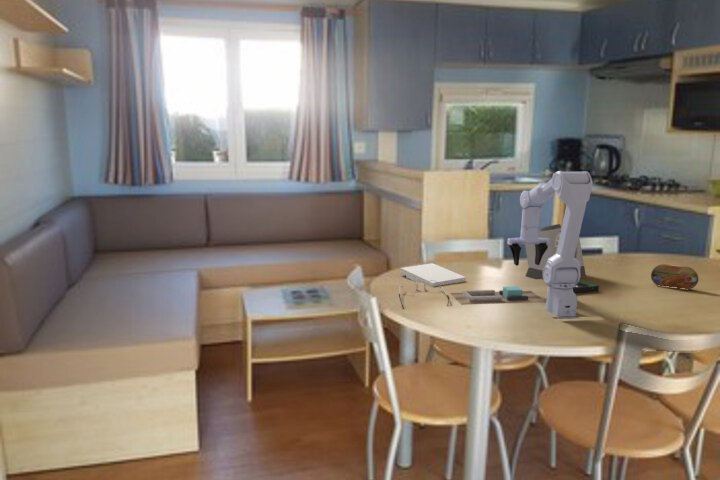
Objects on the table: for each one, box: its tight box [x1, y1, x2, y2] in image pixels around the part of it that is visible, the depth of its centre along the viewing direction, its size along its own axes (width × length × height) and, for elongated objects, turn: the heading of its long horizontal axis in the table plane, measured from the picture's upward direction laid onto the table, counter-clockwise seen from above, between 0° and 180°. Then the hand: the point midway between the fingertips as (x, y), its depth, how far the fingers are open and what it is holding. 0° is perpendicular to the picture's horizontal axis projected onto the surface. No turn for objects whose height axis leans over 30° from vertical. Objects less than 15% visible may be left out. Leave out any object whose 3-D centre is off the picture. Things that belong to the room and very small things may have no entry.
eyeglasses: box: [398, 279, 450, 310], centre depth 185 cm, size 16×19×5 cm
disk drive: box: [573, 278, 600, 295], centre depth 202 cm, size 10×3×15 cm
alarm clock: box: [524, 223, 587, 281], centre depth 218 cm, size 20×16×20 cm
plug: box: [502, 285, 523, 298], centre depth 188 cm, size 4×5×3 cm
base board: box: [450, 290, 547, 306], centre depth 187 cm, size 12×29×1 cm, turn 99°
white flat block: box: [399, 263, 467, 287], centre depth 210 cm, size 15×3×20 cm
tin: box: [650, 263, 699, 290], centre depth 206 cm, size 15×3×8 cm, turn 62°
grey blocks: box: [498, 289, 528, 301], centre depth 188 cm, size 7×7×1 cm
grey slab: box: [461, 289, 502, 302], centre depth 186 cm, size 7×11×2 cm, turn 99°
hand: (526, 264), depth 196 cm, fingers open, 7 cm apart
